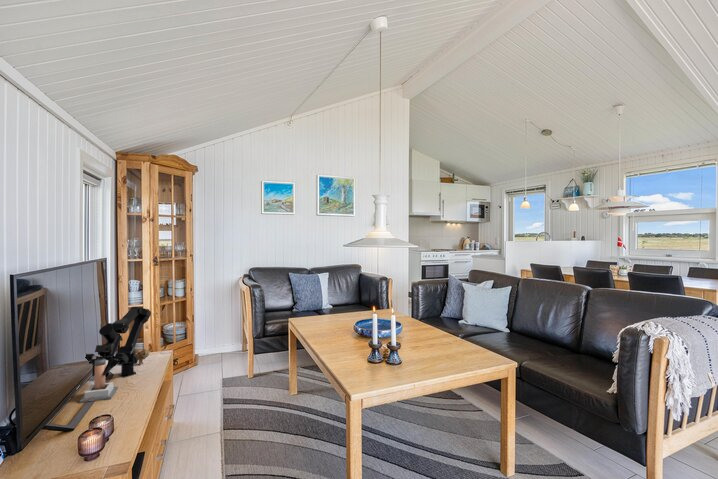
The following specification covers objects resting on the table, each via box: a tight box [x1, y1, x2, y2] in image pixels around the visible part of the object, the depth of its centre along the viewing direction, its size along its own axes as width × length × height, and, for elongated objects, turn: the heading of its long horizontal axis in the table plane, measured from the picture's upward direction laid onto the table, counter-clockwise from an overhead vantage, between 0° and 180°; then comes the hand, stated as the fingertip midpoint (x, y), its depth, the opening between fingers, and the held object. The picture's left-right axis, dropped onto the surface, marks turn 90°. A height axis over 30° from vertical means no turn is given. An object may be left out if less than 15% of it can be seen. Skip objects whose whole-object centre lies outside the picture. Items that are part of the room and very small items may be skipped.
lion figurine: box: [136, 348, 151, 366], centre depth 209 cm, size 15×5×9 cm, turn 95°
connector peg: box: [93, 359, 107, 390], centre depth 169 cm, size 4×4×14 cm
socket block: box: [79, 381, 119, 404], centre depth 169 cm, size 12×12×4 cm
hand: (98, 375), depth 167 cm, fingers closed on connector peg, 4 cm apart
